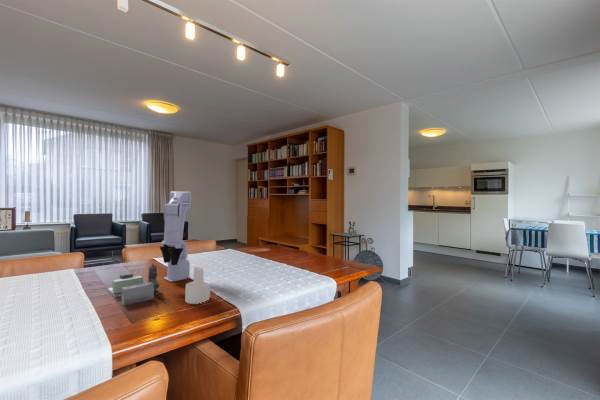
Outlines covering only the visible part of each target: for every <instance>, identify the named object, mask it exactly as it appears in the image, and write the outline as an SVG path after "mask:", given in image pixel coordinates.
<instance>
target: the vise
mask: <svg viewBox="0 0 600 400" xmlns="http://www.w3.org/2000/svg"><path fill="white" fill-rule="evenodd" d="M112 291H113V287H108V288H107V292H109V293H110V294H111V296H113V297H114V298H119V297H120V298H121V301H120V303H121V305H122V306H124V307H125V306H130V305H134V304H138V303H142V302H147V301H150V300H154V297H155V295H154V284H153V283H152V282H149V283H148V282H145V283H144V282H143V284H138V285H133V286H128V287H122V292H120V293H113V292H112Z"/></svg>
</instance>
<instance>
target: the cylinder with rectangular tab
mask: <svg viewBox="0 0 600 400" xmlns="http://www.w3.org/2000/svg"><path fill="white" fill-rule="evenodd" d="M184 292H185V293H184V294H185V295H184V299H185V300H184V301H185V302H186V304H190V305H191V304H192V305H198V304H199V303H200V304H203V303H202V302H204V303H206V302H205V301H207V300H209V298H210V299H211V282H210V281H208V280H204V268H203V265H194V266H193V281H191V282H190V281H189V282H187V283H185V291H184ZM209 301H210V300H209ZM207 302H208V301H207Z"/></svg>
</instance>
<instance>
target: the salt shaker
mask: <svg viewBox="0 0 600 400" xmlns="http://www.w3.org/2000/svg"><path fill="white" fill-rule="evenodd" d="M157 267H158V266H156V265H155V264H154V263H152V265H150V266H149V267H148V274H147V278H148V279H147V283H149V282H152V283H153V284H154V296H155V295H157V294H160V291H159V290H158V289H159V287H160V284H161V282H160V281H158V279H157V278H158V277H157V276H158V272H157V270H158V268H157Z"/></svg>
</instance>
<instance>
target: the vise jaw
mask: <svg viewBox="0 0 600 400" xmlns="http://www.w3.org/2000/svg"><path fill="white" fill-rule="evenodd" d="M138 284H144V277H143V276H142V275H136V276H134V274H133V273H132V272H126V273H122V274H121V273H120V274H119V279H113V280H112V288H113V291H112V292H113V293H120V292H122V287H128V286H133V285H138Z"/></svg>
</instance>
